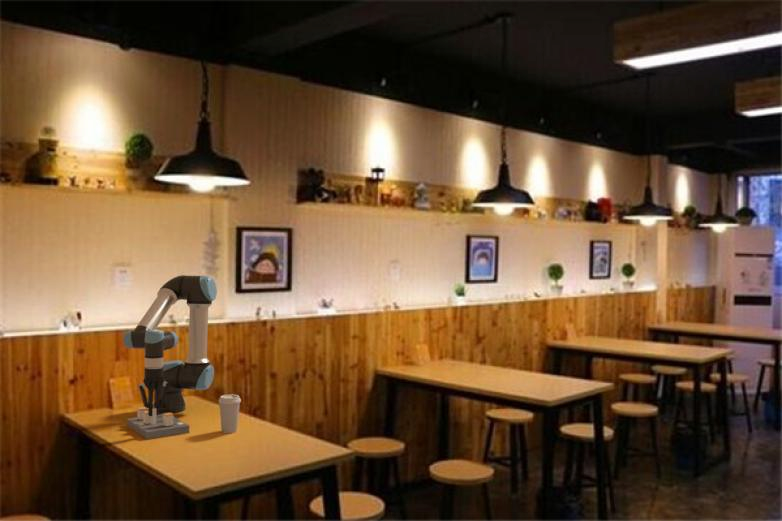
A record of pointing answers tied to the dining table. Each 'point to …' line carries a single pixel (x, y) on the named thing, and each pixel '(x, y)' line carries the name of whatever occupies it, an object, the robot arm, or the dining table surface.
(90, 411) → the dining table surface
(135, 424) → the switch unit
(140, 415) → the slider
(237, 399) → the coffee cup
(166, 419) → the slider
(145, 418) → the slider mid
